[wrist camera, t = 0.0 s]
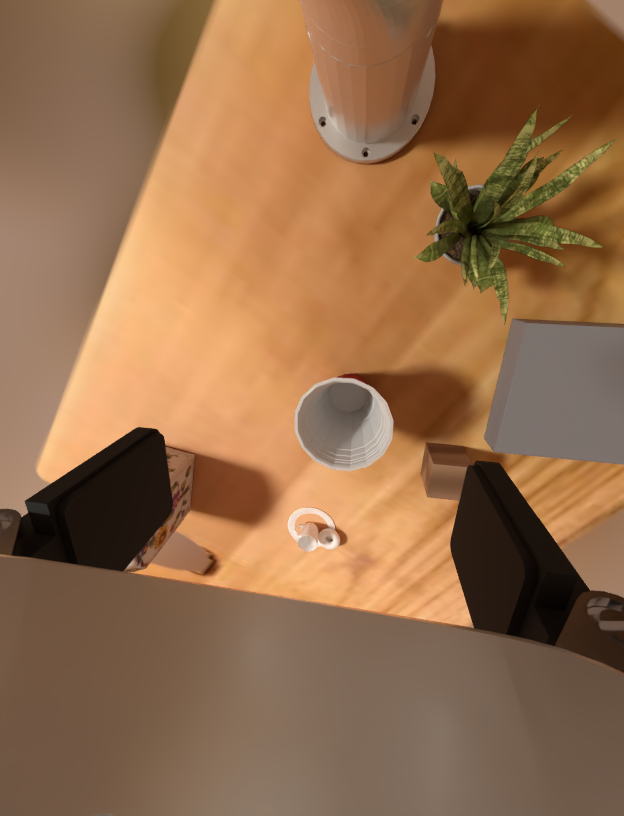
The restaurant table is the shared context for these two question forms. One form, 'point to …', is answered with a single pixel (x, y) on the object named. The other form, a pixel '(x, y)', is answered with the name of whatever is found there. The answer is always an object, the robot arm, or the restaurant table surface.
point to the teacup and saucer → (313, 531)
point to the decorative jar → (181, 494)
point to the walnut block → (444, 470)
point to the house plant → (501, 213)
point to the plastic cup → (344, 423)
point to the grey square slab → (560, 392)
